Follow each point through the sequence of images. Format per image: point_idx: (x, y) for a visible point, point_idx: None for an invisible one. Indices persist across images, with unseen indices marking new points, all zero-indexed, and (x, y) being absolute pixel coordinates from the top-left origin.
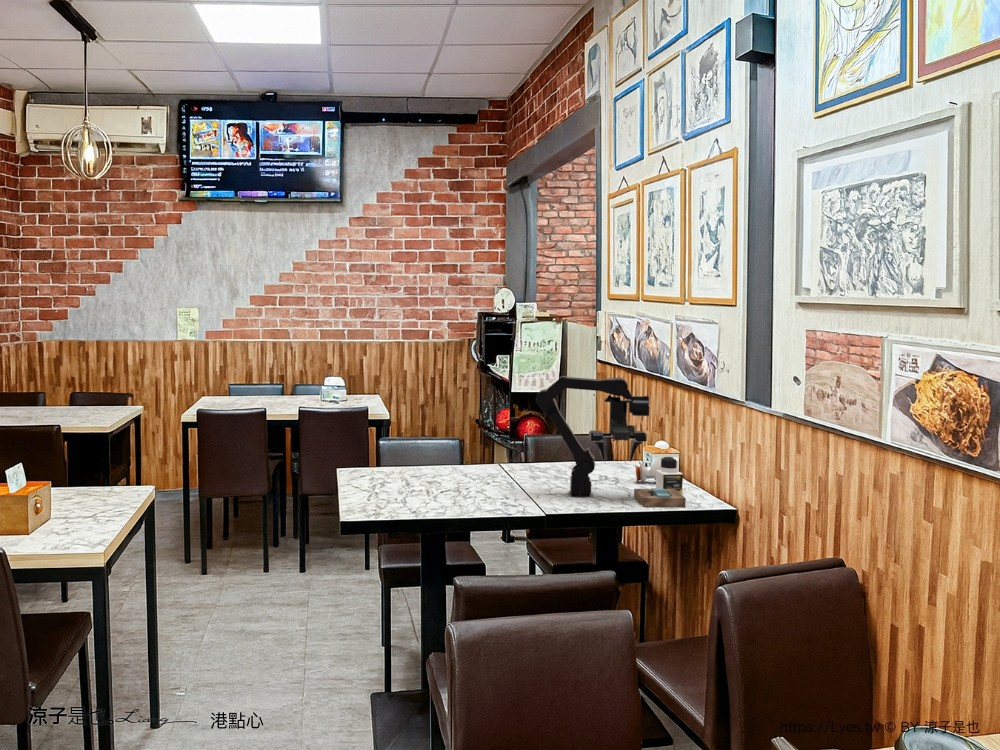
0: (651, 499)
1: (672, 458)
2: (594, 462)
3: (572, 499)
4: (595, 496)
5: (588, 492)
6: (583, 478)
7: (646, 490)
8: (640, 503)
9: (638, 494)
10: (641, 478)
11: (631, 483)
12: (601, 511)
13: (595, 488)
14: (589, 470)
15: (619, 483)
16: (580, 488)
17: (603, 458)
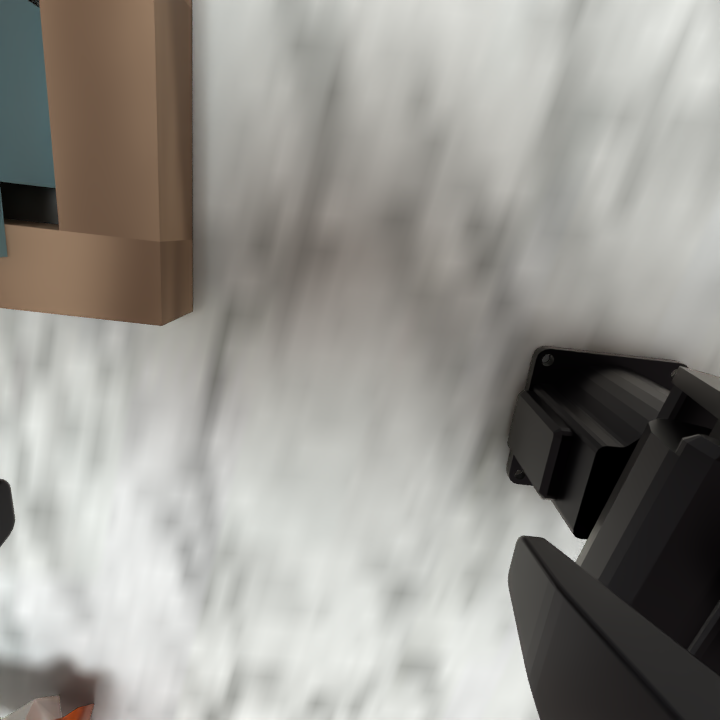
0: None
1: None
2: (647, 584)
3: (711, 278)
4: (485, 364)
5: (548, 388)
6: (717, 379)
7: (56, 240)
8: (187, 6)
9: (161, 105)
10: (49, 710)
11: (133, 685)
12: None
13: (402, 589)
14: None
15: (209, 691)
16: (648, 384)
17: (563, 567)
